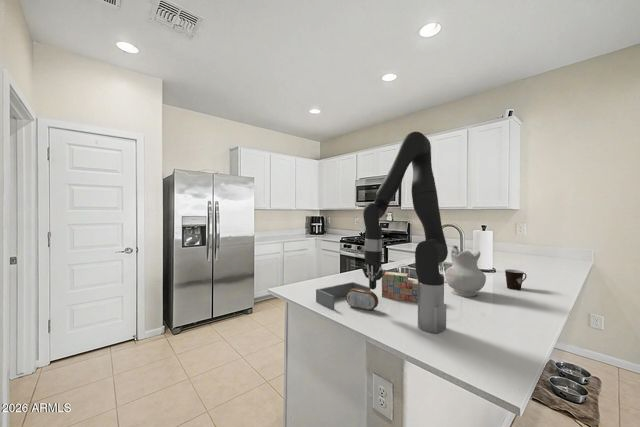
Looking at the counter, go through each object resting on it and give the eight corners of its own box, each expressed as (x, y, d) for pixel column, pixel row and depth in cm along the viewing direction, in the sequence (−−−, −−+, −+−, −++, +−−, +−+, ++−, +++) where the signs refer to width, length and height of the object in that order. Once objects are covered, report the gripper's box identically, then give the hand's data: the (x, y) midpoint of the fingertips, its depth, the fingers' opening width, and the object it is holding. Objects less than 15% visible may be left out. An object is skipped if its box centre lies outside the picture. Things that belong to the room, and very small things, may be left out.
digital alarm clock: (378, 310, 120) (378, 291, 120) (376, 312, 118) (376, 293, 118) (347, 304, 128) (347, 286, 128) (344, 306, 125) (345, 288, 125)
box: (370, 299, 135) (370, 287, 135) (332, 309, 121) (332, 296, 121) (352, 293, 145) (352, 281, 145) (316, 301, 131) (316, 289, 131)
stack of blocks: (427, 300, 135) (427, 275, 135) (425, 303, 129) (426, 278, 129) (384, 293, 144) (384, 271, 144) (381, 297, 139) (381, 273, 139)
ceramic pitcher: (434, 290, 154) (432, 247, 153) (462, 285, 160) (459, 243, 159) (465, 303, 133) (463, 253, 132) (495, 296, 139) (493, 248, 138)
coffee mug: (508, 290, 151) (508, 272, 151) (502, 285, 160) (502, 269, 159) (532, 291, 148) (532, 273, 148) (525, 287, 156) (525, 270, 156)
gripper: (391, 250, 114) (390, 291, 114) (368, 246, 125) (367, 283, 125) (378, 252, 109) (377, 294, 110) (356, 247, 120) (355, 286, 121)
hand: (372, 288), depth 117 cm, fingers closed
